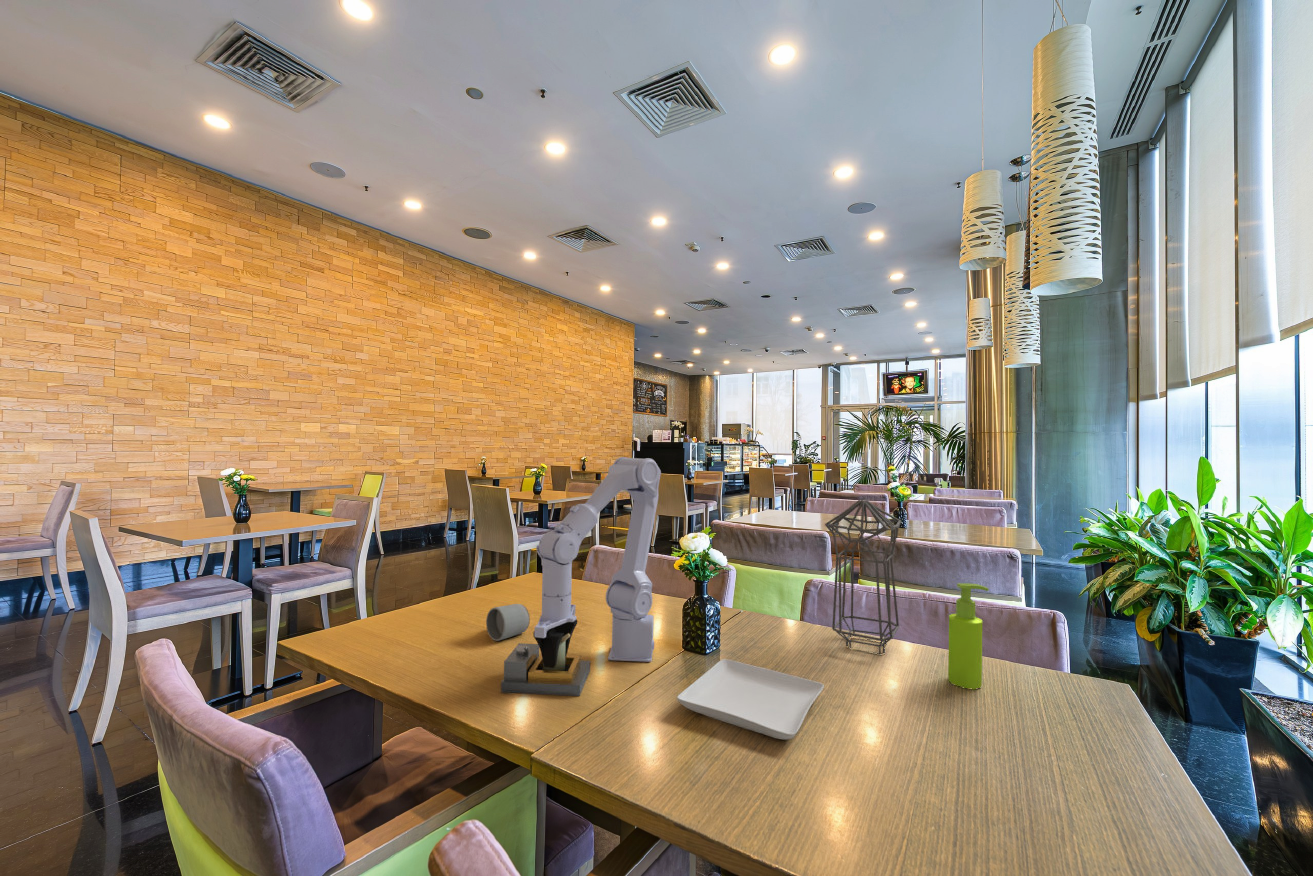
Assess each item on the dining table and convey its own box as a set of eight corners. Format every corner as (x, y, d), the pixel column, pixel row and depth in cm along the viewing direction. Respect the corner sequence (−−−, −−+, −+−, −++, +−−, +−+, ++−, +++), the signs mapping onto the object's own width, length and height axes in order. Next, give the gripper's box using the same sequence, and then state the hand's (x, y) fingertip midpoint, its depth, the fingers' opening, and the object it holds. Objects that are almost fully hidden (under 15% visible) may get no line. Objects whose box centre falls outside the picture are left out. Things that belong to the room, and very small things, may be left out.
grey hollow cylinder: (532, 635, 129) (532, 603, 129) (503, 644, 123) (504, 611, 123) (505, 625, 136) (506, 595, 136) (477, 634, 129) (478, 603, 129)
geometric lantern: (896, 666, 115) (894, 505, 115) (823, 651, 123) (821, 501, 123) (905, 642, 128) (903, 498, 129) (838, 630, 137) (837, 495, 137)
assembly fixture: (589, 670, 110) (590, 638, 110) (579, 696, 99) (580, 660, 99) (518, 667, 110) (519, 635, 110) (500, 692, 99) (501, 657, 99)
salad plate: (825, 699, 100) (825, 681, 100) (794, 755, 82) (794, 733, 82) (722, 672, 111) (722, 656, 111) (673, 717, 92) (674, 697, 92)
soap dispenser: (992, 691, 103) (993, 589, 104) (953, 687, 105) (955, 587, 105) (980, 678, 109) (981, 581, 109) (944, 675, 111) (945, 579, 111)
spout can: (550, 663, 107) (551, 626, 107) (575, 668, 105) (575, 630, 105) (538, 672, 103) (538, 633, 103) (563, 677, 101) (563, 637, 101)
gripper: (559, 605, 97) (558, 680, 96) (589, 585, 111) (588, 650, 111) (524, 602, 98) (523, 675, 98) (558, 582, 112) (557, 646, 112)
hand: (555, 661), depth 104 cm, fingers closed on spout can, 4 cm apart
